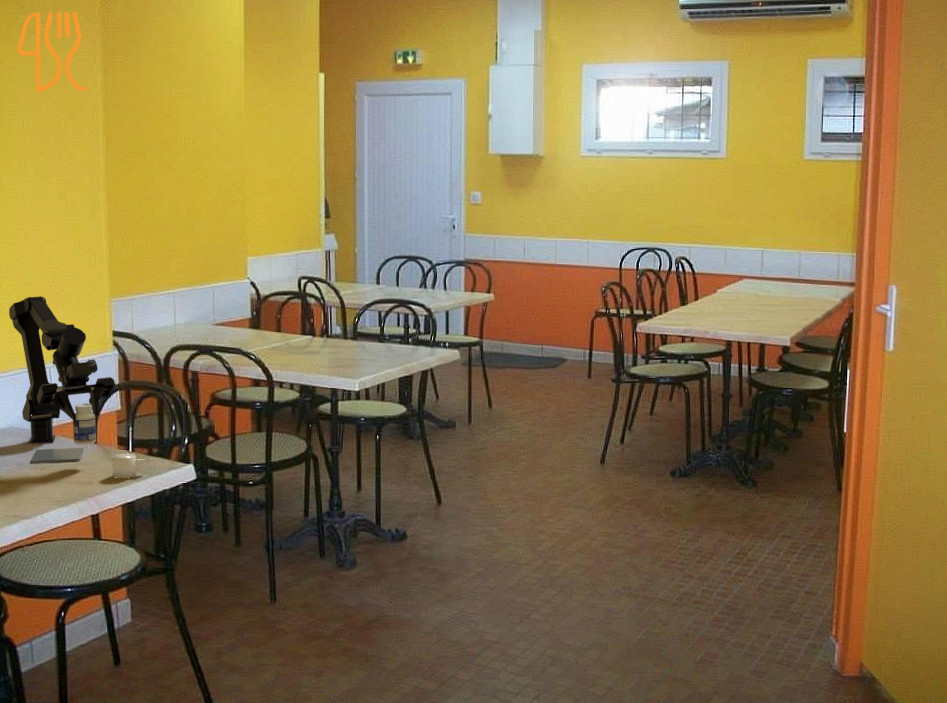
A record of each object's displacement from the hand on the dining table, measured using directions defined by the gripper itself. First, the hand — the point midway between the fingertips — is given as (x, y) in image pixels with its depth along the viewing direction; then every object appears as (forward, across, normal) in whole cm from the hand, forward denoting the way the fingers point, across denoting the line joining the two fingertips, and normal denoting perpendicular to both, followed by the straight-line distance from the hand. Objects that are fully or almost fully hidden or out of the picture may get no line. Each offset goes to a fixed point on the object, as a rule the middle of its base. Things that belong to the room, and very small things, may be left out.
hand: (86, 418), depth 297 cm
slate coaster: (-1, -3, +19) cm, 20 cm away
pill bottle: (+4, 0, +6) cm, 7 cm away
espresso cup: (+19, +5, -1) cm, 20 cm away
